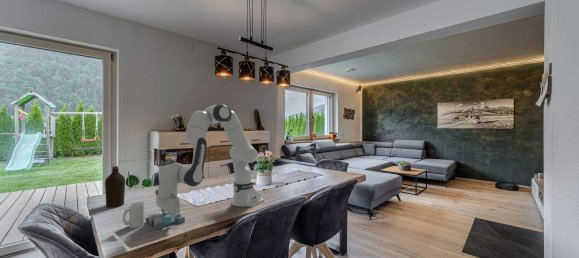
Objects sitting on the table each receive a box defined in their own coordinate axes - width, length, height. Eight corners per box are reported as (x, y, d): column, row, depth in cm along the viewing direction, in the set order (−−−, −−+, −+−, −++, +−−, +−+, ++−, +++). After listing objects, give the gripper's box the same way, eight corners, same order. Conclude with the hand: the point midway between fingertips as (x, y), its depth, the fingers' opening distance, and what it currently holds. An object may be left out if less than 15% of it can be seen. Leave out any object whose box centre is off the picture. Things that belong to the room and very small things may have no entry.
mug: (139, 223, 129) (140, 201, 129) (147, 226, 126) (147, 203, 126) (118, 230, 121) (119, 206, 120) (126, 233, 117) (126, 208, 117)
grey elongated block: (172, 216, 137) (172, 209, 137) (174, 217, 135) (174, 210, 135) (148, 222, 128) (148, 214, 128) (151, 224, 126) (151, 216, 126)
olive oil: (128, 204, 159) (128, 166, 158) (109, 209, 149) (109, 168, 149) (120, 201, 164) (120, 164, 163) (101, 206, 155) (101, 166, 154)
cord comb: (172, 216, 139) (172, 210, 139) (184, 223, 130) (184, 217, 130) (145, 224, 129) (145, 217, 129) (156, 232, 119) (156, 225, 119)
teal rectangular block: (177, 219, 133) (178, 212, 133) (180, 221, 131) (180, 213, 131) (154, 226, 123) (154, 218, 123) (156, 228, 121) (156, 220, 121)
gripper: (183, 195, 122) (183, 222, 123) (166, 187, 136) (165, 212, 136) (170, 197, 118) (170, 226, 118) (153, 189, 131) (153, 215, 131)
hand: (168, 218), depth 127 cm, fingers open, 8 cm apart
